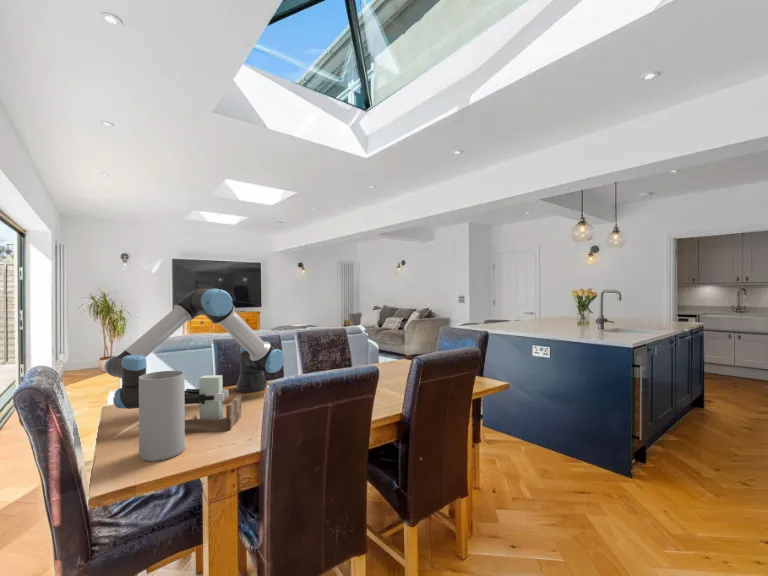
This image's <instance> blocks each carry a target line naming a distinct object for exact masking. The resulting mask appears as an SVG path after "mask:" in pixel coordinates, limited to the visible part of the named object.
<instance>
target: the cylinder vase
mask: <svg viewBox="0 0 768 576" xmlns="http://www.w3.org/2000/svg"><path fill="white" fill-rule="evenodd" d="M185 390H186V389H185V371H184V370H183V371H182V370H162V371H154V372H149V373H146V374H144V375H142V376H140V377H139V408H138V430H139V431H138V432H139V433H138V439H139V440H138V441H139V442H138V443H139V445H138V450H139V452H138V455H139V458H140V459H141V460H142V461H146V462H158V461H165V460H168V459H172V458H174V457H176V456H179V455H180V454H181V453H182V452H183V451H184V450H185V447H186V437H185V436H186V432H185V420H186V419H185V418H186V417H185V415H186V413H185V410H186V409H185V408H186V407H185V406H186V404H185Z"/></svg>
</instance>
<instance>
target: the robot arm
mask: <svg viewBox="0 0 768 576" xmlns="http://www.w3.org/2000/svg"><path fill="white" fill-rule="evenodd" d="M235 306H236V305H234V304H233V298H232V296H231V295H230V293H229V292H227V291H226V290H223V289H219V288H198V289H196V290H193V291H192V292H190V293H188V294H186V295H185V296H184V297H183V298H182V299H180V300H179V301H177V303H176V304H174V305H173V309H172V310H171V311H170V312H168V314H166V315H165V316H164V317H163V318H161V319H160V320H159V321H158V322H156V323H155V324H154V325H153V326H152V327H151V328H150V329H148V330H147V331H146V332H144V333H143V334H142V335H141V336H140V337H139V338H137V340H135V341H134V342H132V344H130V345H129V346H128V347H127V348H126V349H124V350H123V351H122V352H121V353H120V354H118V355H116V356H112V357H110V358H108V359H107V360H106V362H104V363H105V364H104V371H105V372H106V374H108V375H110V376H111V377H113V378H118V379H121V387H120V388H118V389H117V390H116V391H115V392H114V397H113V400H112V401H113V405H114V406H115V408H116V409H123V410H124V409H127V410H131V409H132V410H133V409H139V377H140V376H142V375H144V374H147V360H146V359H147V357H148V356H149V355H150V354H152V353H153V352H154V351H155V350H156V349H157V348H159V346H161V345H162V344H163V343H164V342H165V341H166V340H167V339H169V337H171V336H172V335H174V333H175V332H176V331H178V329H180V328H181V327H182V326H183V325H185V324H186V323H187V322H191V321H193V319H195V318H197V317H199V316H205V317H207V318H208V320H209V321H210V322H211V323H212V324H214V325H215V324H216V325H218V324H219V325H220V326H221V327H222V328H223V329H224V330H225V331H226V332H227V333H228V334H229V335H230V336H231V337H232V338H233V339H234V340H235V341H236V342H237V343H238V344H239V345H240V348H239V377H238V381H237V383H236V391H237V392H241V393H254V392H255V393H256V392H261V391H264V390H266V389H265V387H266V384H267V385H268V383H267V379H266V376H265V374H264V372H266V373H269V374H272V373H273V374H275V373H277V372H278V371H280V370H281V369H282V368H283V366H284V363H285V355H284V352H283V351H282V350H281V349H279V348H275V347H274V346H273V345H272V344H271V343H270V342H269V341H264V340H263V339H262V338H261V337H260V336H259V335H258V334H257V333H256V332H255V331H254V330H253V329H252V328H251V327H250V326H249V325H248V323H246V322H245V320H244V319H243V318H242V317H241V316H240V315H239V314H238V313H237V312H236V311H235V308H236V307H235ZM228 397H229V389H223V393H211V394H205V395H204V394H203V395H200V394H199V388H186V389H185V405H194V404H195V405H196V404H197V405H199V404H200V403H201V402H202V404H205V401H223V402H224V401H225V398H228Z"/></svg>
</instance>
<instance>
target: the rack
mask: <svg viewBox="0 0 768 576" xmlns="http://www.w3.org/2000/svg"><path fill="white" fill-rule="evenodd" d="M225 410H226V412H225V414H226V415H225V416H226V417H223V419H200V418H198V415H194V416H192V417H191V418H189V419H185V433H189V432H190V433H195V432H198V433H199V432H222V431H223V432H224V431H226V432H228V431H231V430H232V429H233V427H234V426H235V425H236V424H237V423H238V422H239V420H241V418H242V394H238V395H236V396H235V397H234V398H233V399H232V400H231V401H230V402H229V403H228V404H227V405H226V406H225Z"/></svg>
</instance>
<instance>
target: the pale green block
mask: <svg viewBox="0 0 768 576" xmlns="http://www.w3.org/2000/svg"><path fill="white" fill-rule="evenodd" d="M223 383H224V382H223V374H221V375H220V374H219V375H217V374H215V375H214V374H213V375H202V376H201V377H199V383H198V385H199V388H198V389H199V394H200V395H203V394H204V395H205V394H211V393H223V390H224V389H223V386H224V385H223ZM198 405H199V419H223V418H224V417H223V416H224V414H223V413H224V410H223V409H224V406H223V405H224V401H205V404H202V402H201V403H200V404H198Z"/></svg>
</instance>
